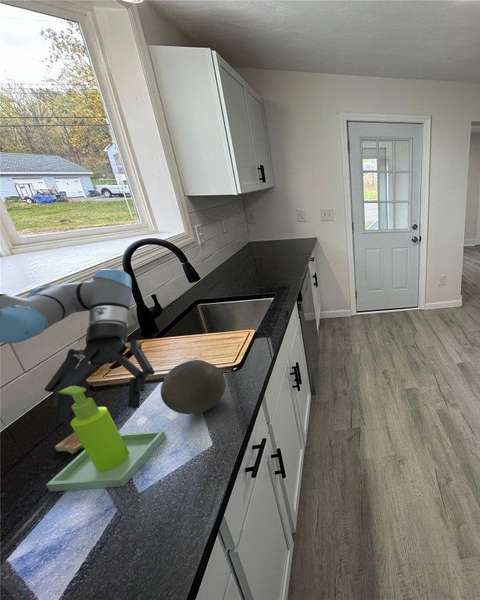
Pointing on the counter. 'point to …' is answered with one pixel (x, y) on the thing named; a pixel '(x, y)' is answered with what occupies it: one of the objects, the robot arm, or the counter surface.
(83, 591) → the counter surface
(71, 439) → the shard
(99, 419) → the soap dispenser
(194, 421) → the counter surface
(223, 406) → the counter surface
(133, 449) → the green tray
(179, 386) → the dark grey rounded lump
